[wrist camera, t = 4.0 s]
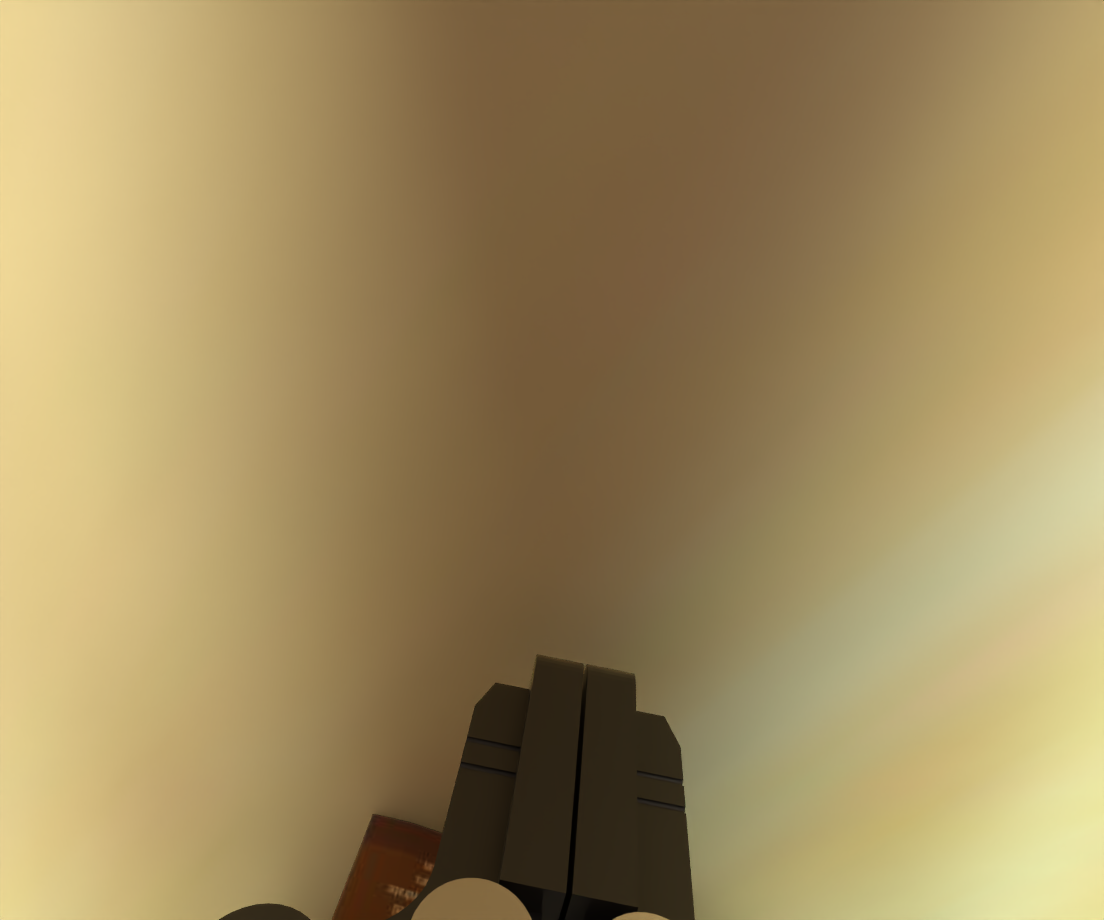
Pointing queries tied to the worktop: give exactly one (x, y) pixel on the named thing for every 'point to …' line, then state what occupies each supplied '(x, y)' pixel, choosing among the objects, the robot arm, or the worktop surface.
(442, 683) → the worktop surface
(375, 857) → the food container
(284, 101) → the worktop surface
